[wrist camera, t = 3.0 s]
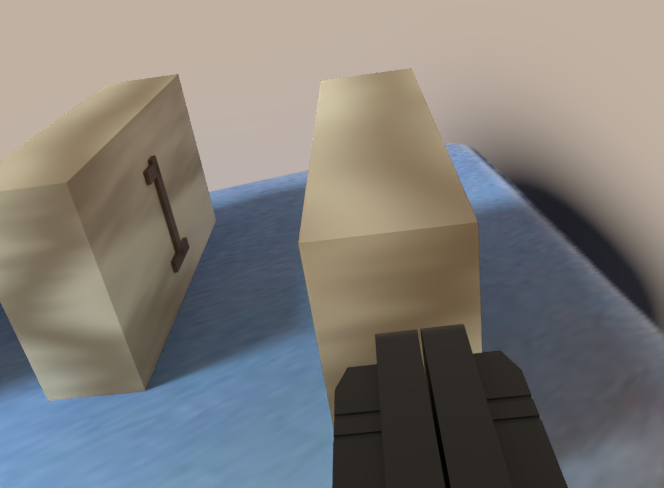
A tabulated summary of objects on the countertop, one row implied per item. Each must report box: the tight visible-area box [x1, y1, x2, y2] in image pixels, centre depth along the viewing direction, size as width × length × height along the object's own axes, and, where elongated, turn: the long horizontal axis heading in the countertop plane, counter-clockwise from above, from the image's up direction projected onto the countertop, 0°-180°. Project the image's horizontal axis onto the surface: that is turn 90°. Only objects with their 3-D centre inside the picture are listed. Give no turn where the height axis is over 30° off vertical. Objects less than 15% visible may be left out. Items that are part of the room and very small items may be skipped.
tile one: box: [0, 74, 216, 401], centre depth 28 cm, size 4×15×9 cm, turn 179°
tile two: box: [298, 68, 482, 427], centre depth 22 cm, size 4×15×9 cm, turn 179°
